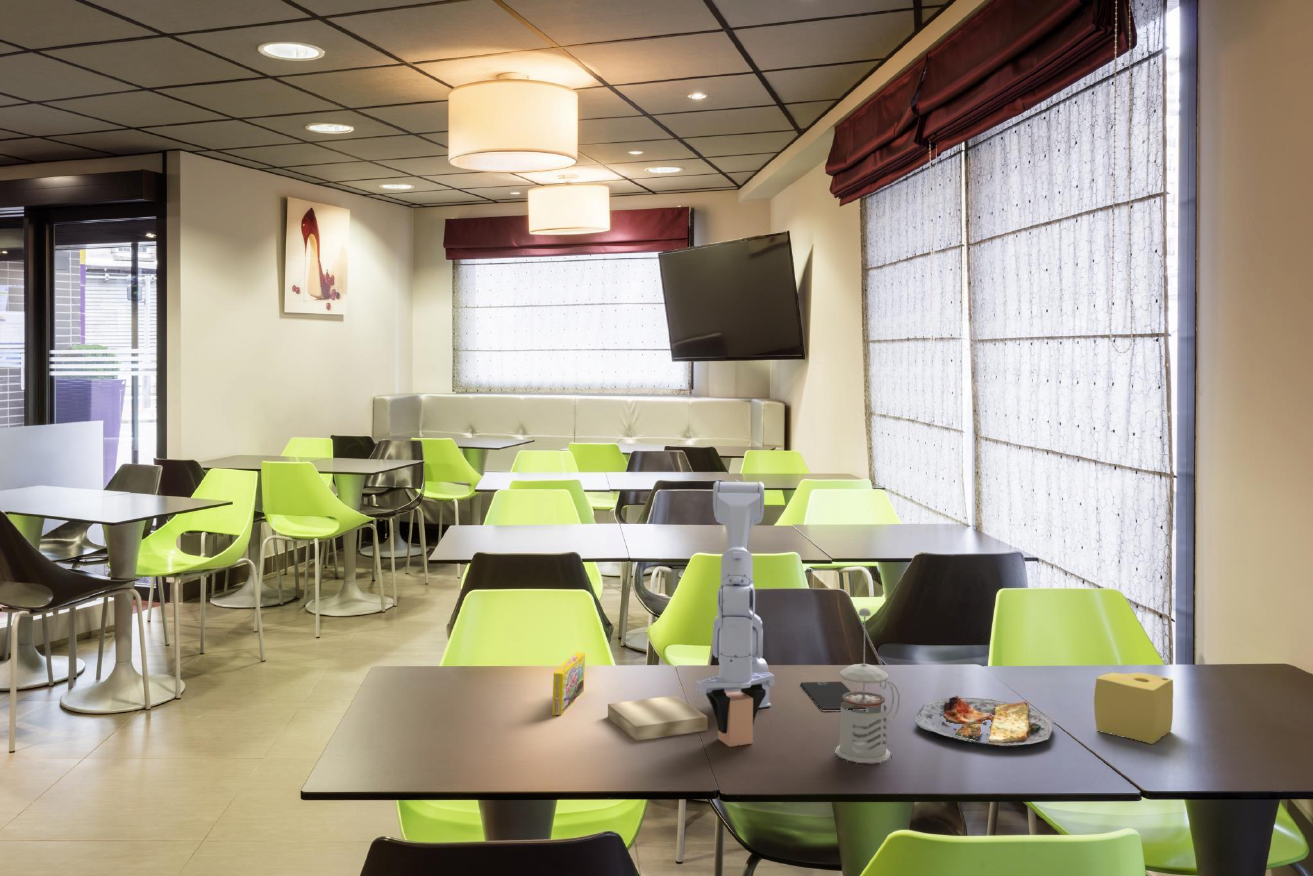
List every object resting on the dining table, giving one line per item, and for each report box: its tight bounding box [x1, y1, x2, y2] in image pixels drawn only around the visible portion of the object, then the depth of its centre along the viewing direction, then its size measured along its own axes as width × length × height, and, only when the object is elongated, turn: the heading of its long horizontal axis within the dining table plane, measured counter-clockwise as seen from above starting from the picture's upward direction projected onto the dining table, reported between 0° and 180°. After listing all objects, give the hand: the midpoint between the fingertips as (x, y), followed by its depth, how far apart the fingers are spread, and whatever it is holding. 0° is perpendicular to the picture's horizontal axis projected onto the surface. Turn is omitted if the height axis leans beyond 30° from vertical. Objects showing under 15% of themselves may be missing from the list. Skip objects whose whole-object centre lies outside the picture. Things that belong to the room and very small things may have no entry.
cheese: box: [1093, 672, 1174, 745], centre depth 184 cm, size 10×11×10 cm
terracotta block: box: [717, 691, 754, 747], centre depth 179 cm, size 4×4×8 cm
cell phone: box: [799, 681, 866, 710], centre depth 204 cm, size 9×18×1 cm, turn 6°
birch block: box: [607, 694, 708, 742], centre depth 188 cm, size 14×14×3 cm
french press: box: [835, 607, 901, 762], centre depth 172 cm, size 10×12×25 cm
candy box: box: [551, 651, 586, 716], centre depth 200 cm, size 16×2×8 cm, turn 168°
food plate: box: [914, 695, 1055, 748], centre depth 186 cm, size 25×23×4 cm
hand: (735, 729), depth 179 cm, fingers closed on terracotta block, 4 cm apart
